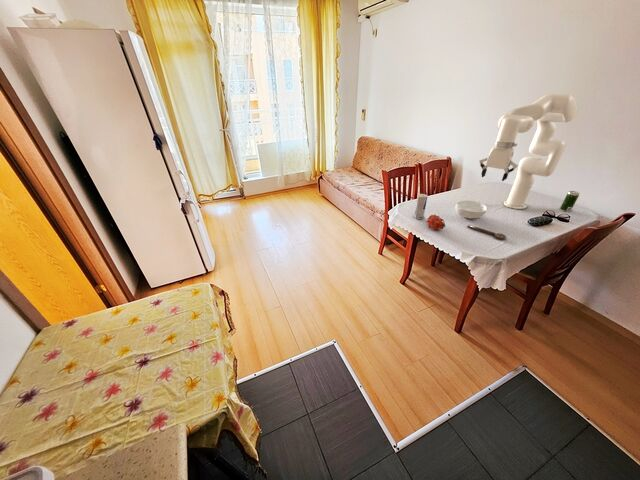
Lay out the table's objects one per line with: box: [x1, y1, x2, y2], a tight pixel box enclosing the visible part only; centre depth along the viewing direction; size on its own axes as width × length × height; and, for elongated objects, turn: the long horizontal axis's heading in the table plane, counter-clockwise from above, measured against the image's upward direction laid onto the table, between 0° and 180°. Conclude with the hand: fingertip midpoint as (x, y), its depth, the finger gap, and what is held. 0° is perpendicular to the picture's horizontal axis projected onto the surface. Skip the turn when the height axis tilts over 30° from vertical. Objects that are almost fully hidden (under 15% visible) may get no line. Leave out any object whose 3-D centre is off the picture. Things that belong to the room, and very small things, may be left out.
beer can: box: [559, 190, 581, 213], centre depth 156 cm, size 5×5×12 cm
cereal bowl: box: [454, 199, 488, 220], centre depth 157 cm, size 17×17×7 cm
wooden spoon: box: [467, 224, 507, 241], centre depth 141 cm, size 20×5×2 cm, turn 41°
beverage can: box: [413, 193, 428, 220], centre depth 157 cm, size 6×6×15 cm
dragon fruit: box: [425, 214, 446, 232], centre depth 147 cm, size 8×8×12 cm
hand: (493, 178), depth 134 cm, fingers open, 9 cm apart
